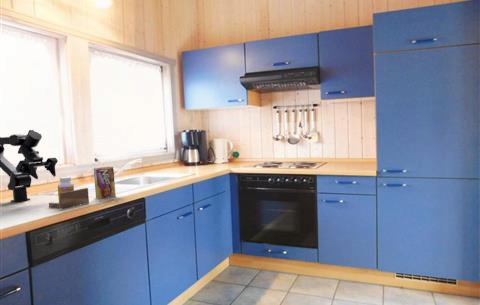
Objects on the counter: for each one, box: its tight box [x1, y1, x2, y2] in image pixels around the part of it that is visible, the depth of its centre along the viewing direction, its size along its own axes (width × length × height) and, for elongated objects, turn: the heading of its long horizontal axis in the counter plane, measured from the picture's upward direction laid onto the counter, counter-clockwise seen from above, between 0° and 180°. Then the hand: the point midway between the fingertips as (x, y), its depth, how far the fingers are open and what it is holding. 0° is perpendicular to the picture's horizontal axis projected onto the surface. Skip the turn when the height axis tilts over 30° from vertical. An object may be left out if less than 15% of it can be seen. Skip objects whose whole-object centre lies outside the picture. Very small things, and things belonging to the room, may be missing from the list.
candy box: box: [93, 166, 117, 200], centre depth 185 cm, size 9×4×15 cm, turn 129°
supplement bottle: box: [57, 176, 75, 203], centre depth 169 cm, size 7×7×13 cm
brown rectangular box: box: [48, 187, 90, 210], centre depth 169 cm, size 10×14×7 cm
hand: (46, 177), depth 175 cm, fingers open, 9 cm apart
